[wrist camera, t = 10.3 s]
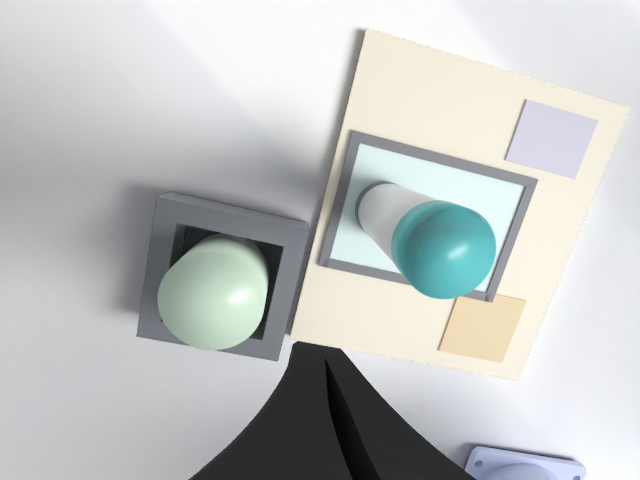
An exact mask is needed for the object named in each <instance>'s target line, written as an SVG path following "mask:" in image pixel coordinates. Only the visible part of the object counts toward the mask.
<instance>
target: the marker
mask: <svg viewBox="0 0 640 480" xmlns="http://www.w3.org/2000/svg"><path fill="white" fill-rule="evenodd" d="M355 216H356V220H357V222H358V224H359V225H360V227H361V228H362V229H363V230H364V231H365V232H366V233H367V234H368V235H369V236H370V237H371V238H372V240H373V241H374V242H375V243H376V244H377V245H378V246H379V247H380V248H381V249H382V251H383V252H384V253H385V254H386V255H387V256H388V257H389V258H390V259H391V260H392V262H393V263H394V264H395V265H396V267H397V269H398V270H399V271H400V273H401V274H402V275H403V276H404V277H405V278H406V279H407V280H408V282H409V283H410V284H411V285H412V286H413V287H414V288H415V289H416V290H417V291H419V292H420V293H422V294H424V295H426V296H428V297H431V298H435V299H453V298H457V297H460V296H463V295H465V294H467V293H469V292H471V291H472V290H474V289H475V288H476V287H477V286H479V285H480V284H481V283H482V282H483V281H484V279H485V278H486V277H487V275H488V274H489V272H490V270H491V268H492V266H493V264H494V260H495V256H496V238H495V235H494V232H493V229H492V227H491V226H490V224H489V223H488V221H487V220H486V219H485V218H484V217H483V216H482V215H481V214H479V213H478V212H476V211H474V210H472V209H469V208H466V207H463V206H460V205H458V204H455V203H452V202H448V201H443V200H438V199H436V198H433V197H430V196H427V195H424V194H421V193H419V192H416V191H413V190H410V189H407V188H404V187H401V186H399V185H397V184H394V183H391V182H385V181H382V182H376V183H373V184H371V185H369V186H368V187H366V188H365V189H364V190H363V191H362V192H361V193H360V195H359V197H358V199H357V201H356V205H355Z"/></svg>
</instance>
